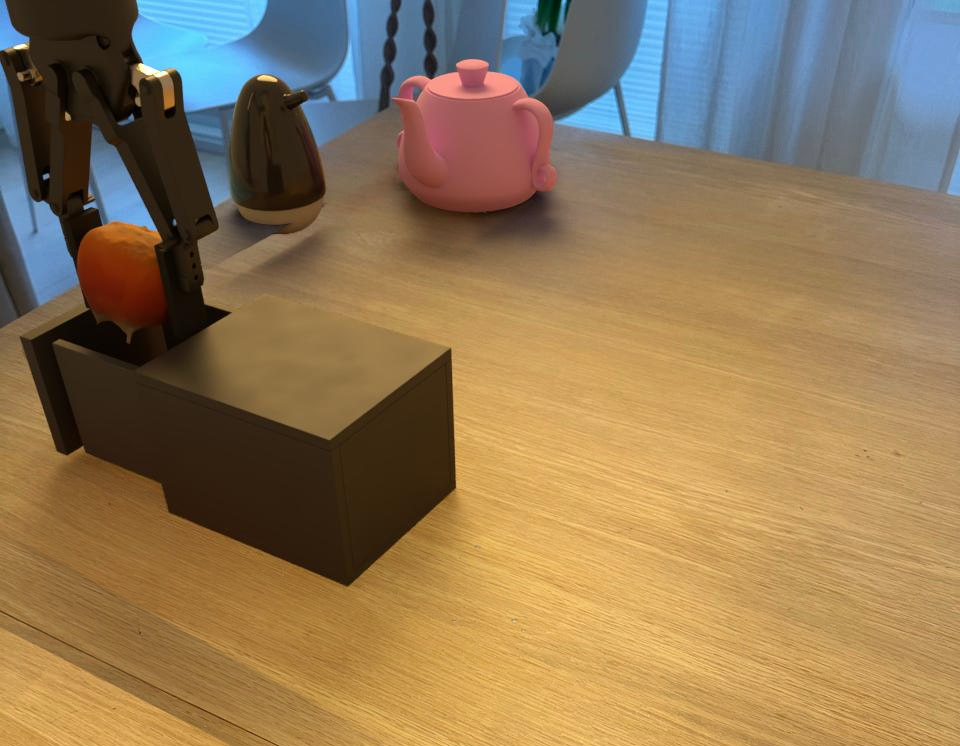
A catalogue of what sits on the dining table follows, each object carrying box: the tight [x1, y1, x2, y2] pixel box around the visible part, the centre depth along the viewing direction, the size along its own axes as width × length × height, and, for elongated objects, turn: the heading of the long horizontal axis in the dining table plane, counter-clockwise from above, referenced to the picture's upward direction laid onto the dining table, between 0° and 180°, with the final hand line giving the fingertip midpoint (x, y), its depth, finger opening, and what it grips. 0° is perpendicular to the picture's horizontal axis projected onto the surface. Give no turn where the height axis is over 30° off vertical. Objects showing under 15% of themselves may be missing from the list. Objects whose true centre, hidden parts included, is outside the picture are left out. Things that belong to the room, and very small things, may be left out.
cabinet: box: [133, 293, 457, 587], centre depth 77 cm, size 17×14×12 cm
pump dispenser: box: [228, 73, 327, 235], centre depth 114 cm, size 10×10×15 cm
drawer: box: [19, 297, 239, 484], centre depth 83 cm, size 20×12×10 cm, turn 58°
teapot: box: [390, 58, 558, 213], centre depth 119 cm, size 22×22×14 cm
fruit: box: [76, 220, 171, 344], centre depth 77 cm, size 8×8×8 cm
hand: (146, 315), depth 79 cm, fingers closed on fruit, 8 cm apart
